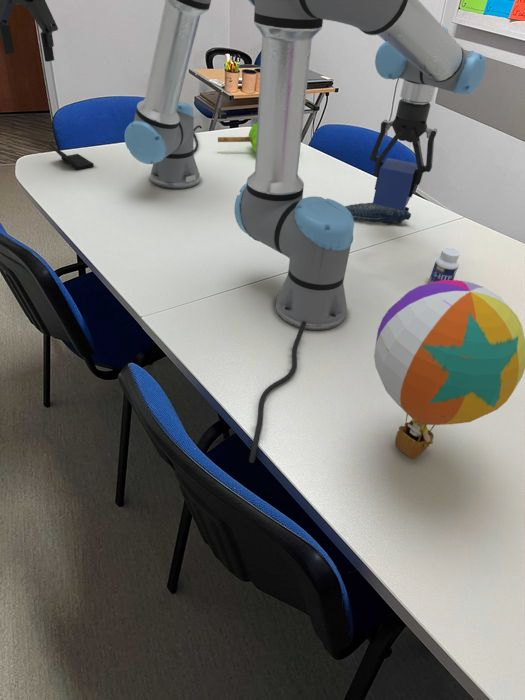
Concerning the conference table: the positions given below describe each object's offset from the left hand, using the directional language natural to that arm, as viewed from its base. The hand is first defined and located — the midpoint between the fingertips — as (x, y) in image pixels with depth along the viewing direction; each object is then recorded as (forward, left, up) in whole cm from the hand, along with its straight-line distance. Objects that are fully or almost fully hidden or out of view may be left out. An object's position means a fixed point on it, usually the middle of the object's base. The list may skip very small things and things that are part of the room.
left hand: (29, 57), depth 142 cm
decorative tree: (-40, +61, -32) cm, 79 cm away
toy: (+95, +101, -32) cm, 142 cm away
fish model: (+6, +100, -32) cm, 105 cm away
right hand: (+14, +103, -20) cm, 106 cm away
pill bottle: (+40, +114, -32) cm, 125 cm away
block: (+14, +103, -23) cm, 106 cm away
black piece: (-9, +3, -32) cm, 34 cm away
